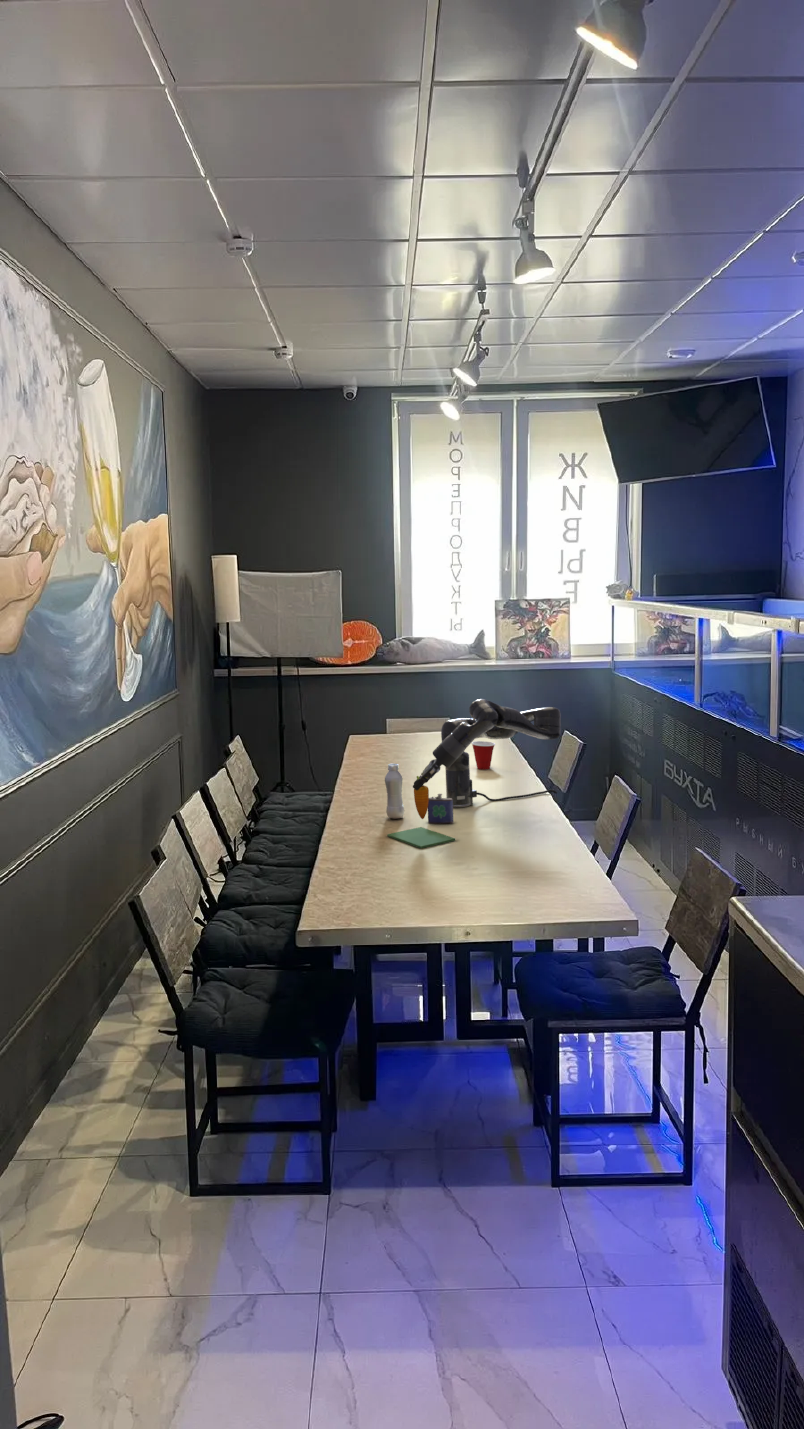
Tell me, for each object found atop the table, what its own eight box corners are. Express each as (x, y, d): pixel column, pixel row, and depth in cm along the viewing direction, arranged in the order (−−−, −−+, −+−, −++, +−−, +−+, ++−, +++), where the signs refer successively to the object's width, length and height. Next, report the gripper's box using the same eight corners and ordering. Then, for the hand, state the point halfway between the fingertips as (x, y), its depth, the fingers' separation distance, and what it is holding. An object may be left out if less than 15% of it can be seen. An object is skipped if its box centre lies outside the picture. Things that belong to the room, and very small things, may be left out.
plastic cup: (497, 770, 430) (496, 743, 428) (472, 771, 430) (472, 744, 428) (495, 765, 440) (494, 739, 439) (471, 766, 441) (470, 740, 439)
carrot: (414, 817, 323) (412, 774, 321) (429, 816, 324) (427, 773, 322) (416, 821, 319) (413, 777, 316) (430, 820, 319) (428, 776, 317)
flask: (454, 822, 342) (453, 792, 341) (452, 824, 339) (451, 794, 338) (429, 821, 345) (427, 792, 343) (427, 823, 342) (425, 794, 340)
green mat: (420, 829, 335) (420, 826, 335) (455, 840, 318) (455, 838, 318) (387, 836, 327) (387, 834, 327) (420, 848, 311) (420, 846, 311)
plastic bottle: (402, 820, 348) (400, 766, 345) (384, 820, 349) (382, 766, 346) (406, 816, 354) (404, 762, 351) (388, 815, 356) (386, 762, 353)
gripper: (457, 761, 310) (421, 799, 313) (458, 753, 324) (424, 789, 327) (440, 746, 310) (404, 784, 313) (442, 738, 324) (408, 775, 327)
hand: (415, 786), depth 320 cm, fingers closed on carrot, 4 cm apart
